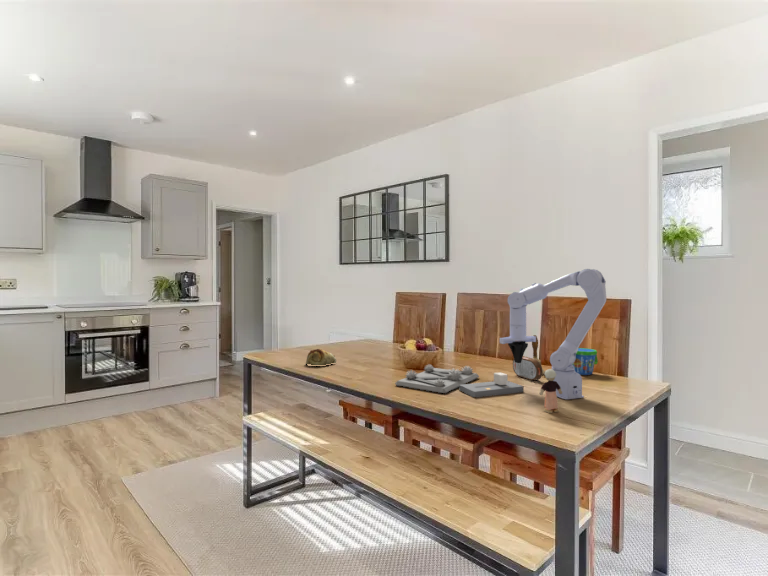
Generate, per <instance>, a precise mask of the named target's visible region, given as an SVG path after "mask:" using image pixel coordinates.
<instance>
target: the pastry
mask: <svg viewBox="0 0 768 576" xmlns="http://www.w3.org/2000/svg"><path fill="white" fill-rule="evenodd" d="M331 363H336V364H337V358H336V356H335V354H333V353H331V352H329V351H326V350H324V349H320V348H316V349H313V350H310V351H309V352H308V353H307V356H306V361H305V365H306V364H311V365H326V364H331Z"/></svg>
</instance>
